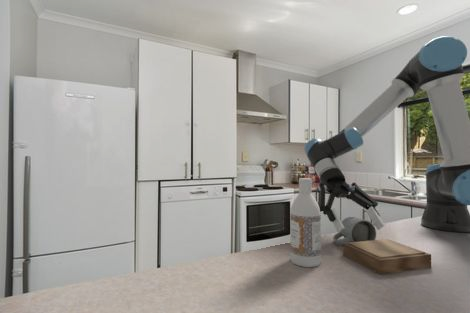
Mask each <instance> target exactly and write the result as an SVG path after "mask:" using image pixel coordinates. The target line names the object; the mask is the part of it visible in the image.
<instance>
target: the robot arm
mask: <svg viewBox="0 0 470 313" xmlns="http://www.w3.org/2000/svg"><path fill="white" fill-rule="evenodd" d="M467 56H468V48H467V46H466V44H465V43H464V41H462V40H461V39H459V38H456V37H453V36H447V35H446V36H445V35H444V36H439V37H435V38H433V39H432V40H430V41H428V42H427V43H425V45H423V46H422V47H421V48H420V49H419V51H418V52H417V53H416V54H415V55H414V56H412V58H411V59H410V60H409V61H408V62H407V63H406V65H405V66H404V67H403V69H401V71H400V72H399V73H398V74H397V75H396V77H395V78H393V79H392V81H391V85H389V86H388V87H387V88H385V90H384V91H383V92H382V93H381V94H379V96H377V98H375V99H374V100H373V101H372V102H371V103H370V104H369V105H368V106H367V107H365V108H364V109H363V110H362V111H361V112H360V113H359V114H358V115H357V116H355V118H354V119H353V120H351V121H350V122H349V123H348V124H347V125H345V127H344V128H342V129H341V130H340V131H339V132H338V133H337V134H335V135H334V136H330V138H327V139H325V140H323V141H322V139H320V138H315V139H311V140H309V141H307V142H306V144H305V145H304V152H305V154H306V156H307V158H308V161H309V162H310V164H311V165H312V167H313V170H314V171H315V173H316V175H317V177H318V178H319V181H320V183H318V186H317V188H316V191H317V193H318V195H317V196H318V199H317V201H318V202H317V203H318V205H319V208H320V213H321V212H322V214H323V215H325V216H327V218H328V220H329V221H330V222H331V223H333V226H334V228H335V230H336V232H337V233H341V232H342V231H343V229H344V228H345V227H344V226H343V224H342V221H341V218H340V217H339V215H338V213H337V211H336V209H335V208H332V206H333V204H334V201H335V198H337V199H340V198H343V199H344V198H346V199H347V200H351V202H352V201H353V202H354V203H356V204H357V205H358V206H360V207H361V208H363V209H365V210H366V211H365V212H366V215H367V216H368V217H369V219H370V220H371V223H372V224H373V225H374V227H375V229H376V231H381V229H383V228H384V227H385V226H386V224H385V223H384V221H383V220H382V218H381V215H380V213H379V212H378V211H377V209H376V207H377V206H378V205H379V203H378V201H376V200H375V198H372V197H371V196H370V195H369V194H368V193H366V192H365V191H364V190H363V189H361V187H359V185H357V183H356V182H352V183H351V184H349V183H348V182H346V176H345V175H344V173H343V172H342V170H341V169H340V167H339V165H338V163H337V162H336V161H335V159H337V158H338V157H341V156H343V155H345V154H348V153H350V152H352V151H354V150H357V149H358V148H360V147H361V146H363V145H364V139H363V138H364V136H366V135H367V134H368V133H369V132H370V131H371V130H373V128H375V127H376V126H377V125H378V124H379V123H380V122H382V120H384V119H385V118H386V117H387V116H388V115H389V114H391V113H392V111H394V110H395V109H396V108H397V107H398V106H400V105H401V104H402V103H403V102H404V101H405V100H406V99H407V98H412V97H414V96H415V95H416V94H417V93H418V92H419V91H421V90H424V91H426V93H427V97H428V101H429V105H430V108H431V109H430V110H431V114H432V118H433V121H434V125H435V130H436V133H437V137H438V140H439V145H440V149H441V153H442V156H443V160H442V162H441V163H436V164H430V165H428V166H427V167H426V170H425V184H426V185H425V188H426V189H425V190H426V195H425V196H426V205H425V208H424V210H423V213H422V216H421V218H420V220H421V222H420V224H421V225H422V226H424V227H425V228H430V229H433V230H440V231H446V232H455V233H470V212H469V209H468V206H470V116H469V113H468V110H467V109H468V108H467V105H466V102H465V98H464V95H463V90H462V85H461V80H462V79H463V77H464V76H465V72H464V68H463V64H464V62H465V60H466V59H467ZM326 192H328V193H329V195H328V199H327V200H326ZM349 193H350V194H349ZM326 201H327V202H326Z"/></svg>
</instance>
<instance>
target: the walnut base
mask: <svg viewBox="0 0 470 313" xmlns="http://www.w3.org/2000/svg"><path fill="white" fill-rule="evenodd" d="M342 255H343V256H345V257H347V258H349V259H350V260H353V261H354V262H356V263H358V264H360V265H362V266H364V267H365V268H367V269H369V270H371V271H373V272H375V273H377V274H379V275H380V276H381V275H388V274H395V273H402V272H411V271H418V270H419V271H420V270H426V269H432V254H431V253H429V252H426V251H423V250H419V249H417V248H414V247H411V246H409V245H406V244H403V243H399V242H397V241H395V240H391V239H388V238H383V239H375V240H371V241H360V242H349V243H343V244H342Z"/></svg>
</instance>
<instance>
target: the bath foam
mask: <svg viewBox="0 0 470 313" xmlns="http://www.w3.org/2000/svg"><path fill="white" fill-rule="evenodd" d="M312 181H313V180H312V178H308V177H304V178H303V177H302V178H301V177H299V179H298V194H297V195H296V198H295V199H294V200H293V202H292V205H291V208H290V261H291V263H293V264H295V265H297V266H299V267H303V268H315V267H318V266H319V265H321V262H322V260H321V259H322V256H321V254H322V242H321V241H322V240H321V239H322V236H321V235H322V232H321V231H322V229H321V226H322V224H321V222H322V221H321V218H322V217H321V216H322V214H321V212H320V208H319V205H318V202H317V201H318V200H316V198H315V197H314V195H313V194H312V188H313V187H312V186H313V184H312V183H313V182H312Z"/></svg>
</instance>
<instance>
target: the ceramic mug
mask: <svg viewBox="0 0 470 313" xmlns="http://www.w3.org/2000/svg"><path fill="white" fill-rule="evenodd" d="M341 222H342V224H343V226H344V227H345V228H344V229H343V231H342V232H341V233H338V232H337V233H335V234H333V237H332V240H333V242H334V244H335V245H338V246H339V245H343V243H349V242H360V241H371V240H377V228H376V227H375V225H374V223H373V222H372V221H369V220H367V219H363V218H358V217H354V216H352V217H351V216H350V217H346V218H343V220H342V221H341ZM341 237H343V238H341Z"/></svg>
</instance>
